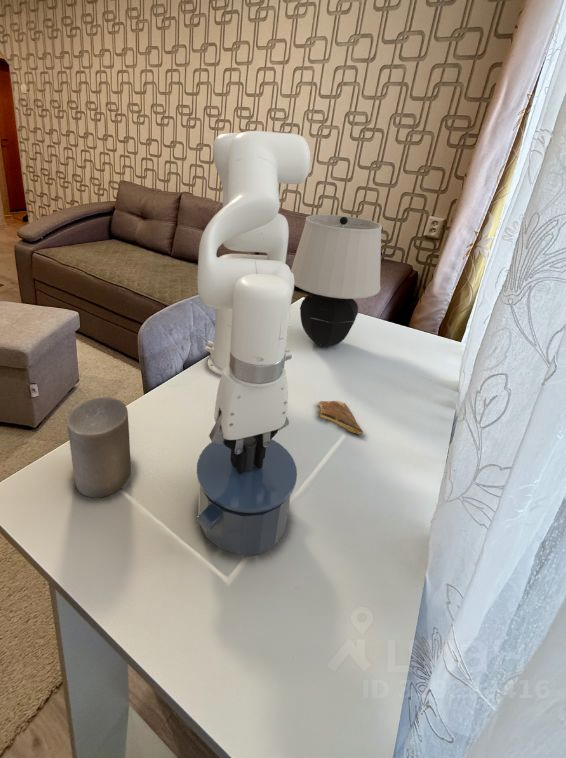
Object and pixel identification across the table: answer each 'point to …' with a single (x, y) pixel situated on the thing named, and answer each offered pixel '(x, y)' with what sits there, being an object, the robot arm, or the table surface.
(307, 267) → the table lamp
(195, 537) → the table surface
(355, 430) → the cake slice
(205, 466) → the lid
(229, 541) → the pot
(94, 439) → the pillar candle
